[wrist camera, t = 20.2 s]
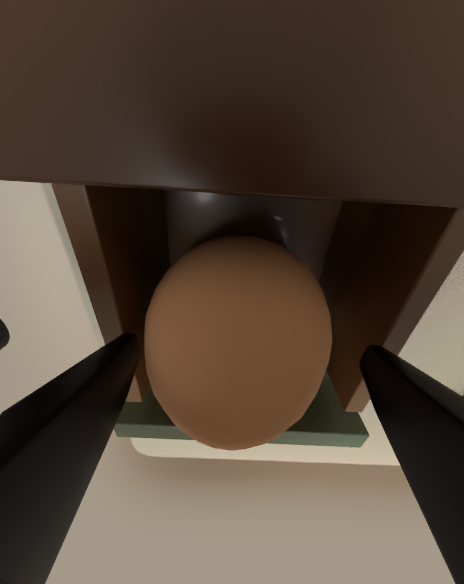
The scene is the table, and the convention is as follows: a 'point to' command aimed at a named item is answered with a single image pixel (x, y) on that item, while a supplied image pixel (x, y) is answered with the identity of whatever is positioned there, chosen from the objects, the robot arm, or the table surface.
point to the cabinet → (237, 97)
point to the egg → (237, 341)
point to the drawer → (294, 237)
